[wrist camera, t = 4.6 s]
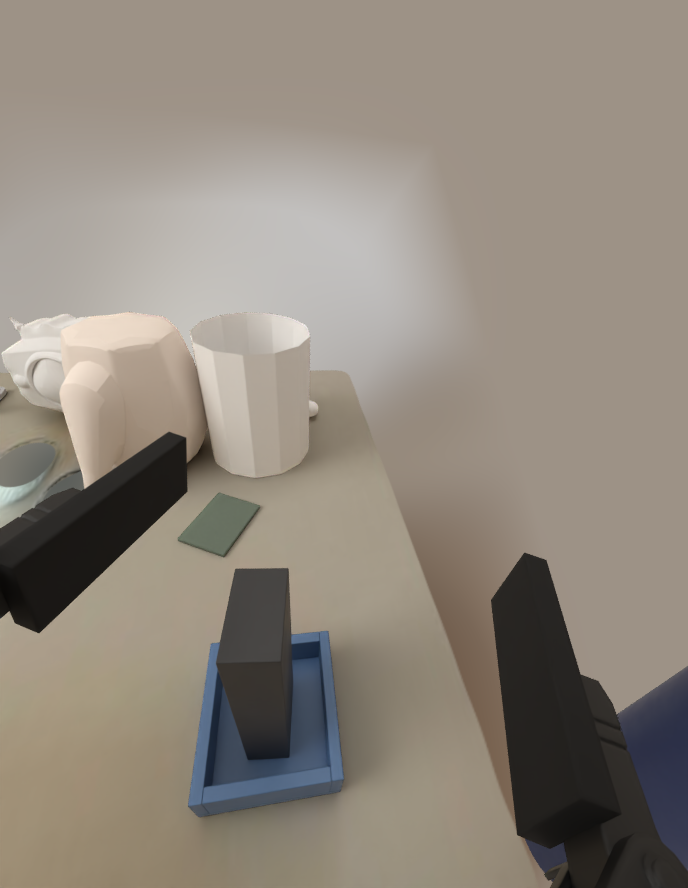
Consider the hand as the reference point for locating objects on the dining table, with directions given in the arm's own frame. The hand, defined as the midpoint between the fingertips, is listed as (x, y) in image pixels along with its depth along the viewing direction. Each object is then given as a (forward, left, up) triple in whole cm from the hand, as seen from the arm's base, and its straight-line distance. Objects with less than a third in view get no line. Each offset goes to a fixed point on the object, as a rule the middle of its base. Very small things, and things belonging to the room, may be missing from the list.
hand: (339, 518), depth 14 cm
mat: (+19, -15, -24) cm, 34 cm away
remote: (+4, +1, -24) cm, 24 cm away
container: (+22, -30, -24) cm, 44 cm away
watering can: (+35, -22, -5) cm, 41 cm away
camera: (+50, -27, -25) cm, 62 cm away
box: (+4, +1, -24) cm, 25 cm away
